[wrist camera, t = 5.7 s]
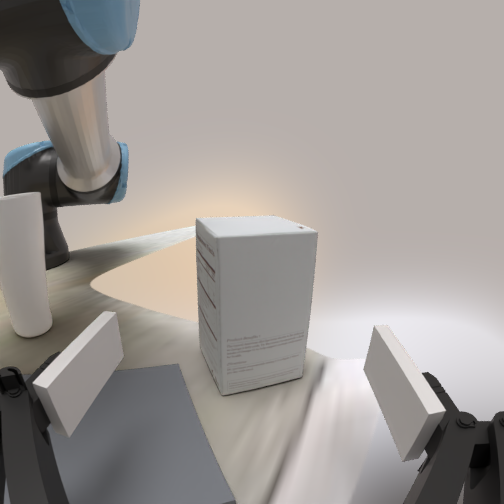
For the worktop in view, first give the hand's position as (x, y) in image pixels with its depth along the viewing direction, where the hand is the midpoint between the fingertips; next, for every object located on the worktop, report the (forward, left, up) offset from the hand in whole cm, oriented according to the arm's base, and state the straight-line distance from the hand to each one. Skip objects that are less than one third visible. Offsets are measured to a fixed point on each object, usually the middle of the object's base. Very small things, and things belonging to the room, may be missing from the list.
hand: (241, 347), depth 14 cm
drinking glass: (-18, +20, -8) cm, 28 cm away
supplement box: (+4, +9, -8) cm, 13 cm away
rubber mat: (-10, +3, -8) cm, 13 cm away
